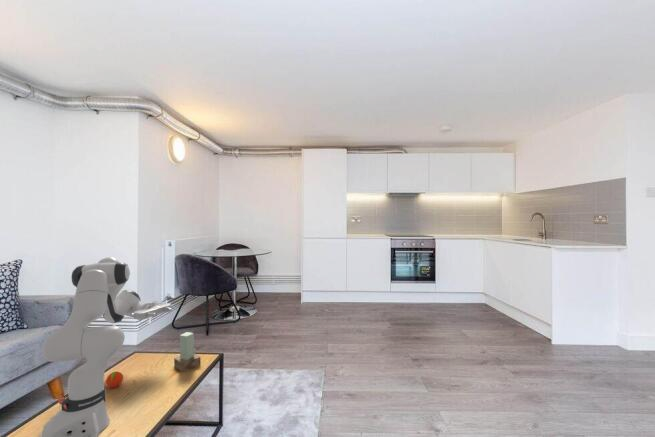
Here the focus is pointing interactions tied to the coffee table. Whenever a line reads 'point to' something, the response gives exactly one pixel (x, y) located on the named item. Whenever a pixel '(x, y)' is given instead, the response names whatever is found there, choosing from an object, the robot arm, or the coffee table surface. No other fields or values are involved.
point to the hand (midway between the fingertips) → (163, 312)
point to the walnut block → (187, 363)
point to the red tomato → (114, 379)
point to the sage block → (186, 345)
